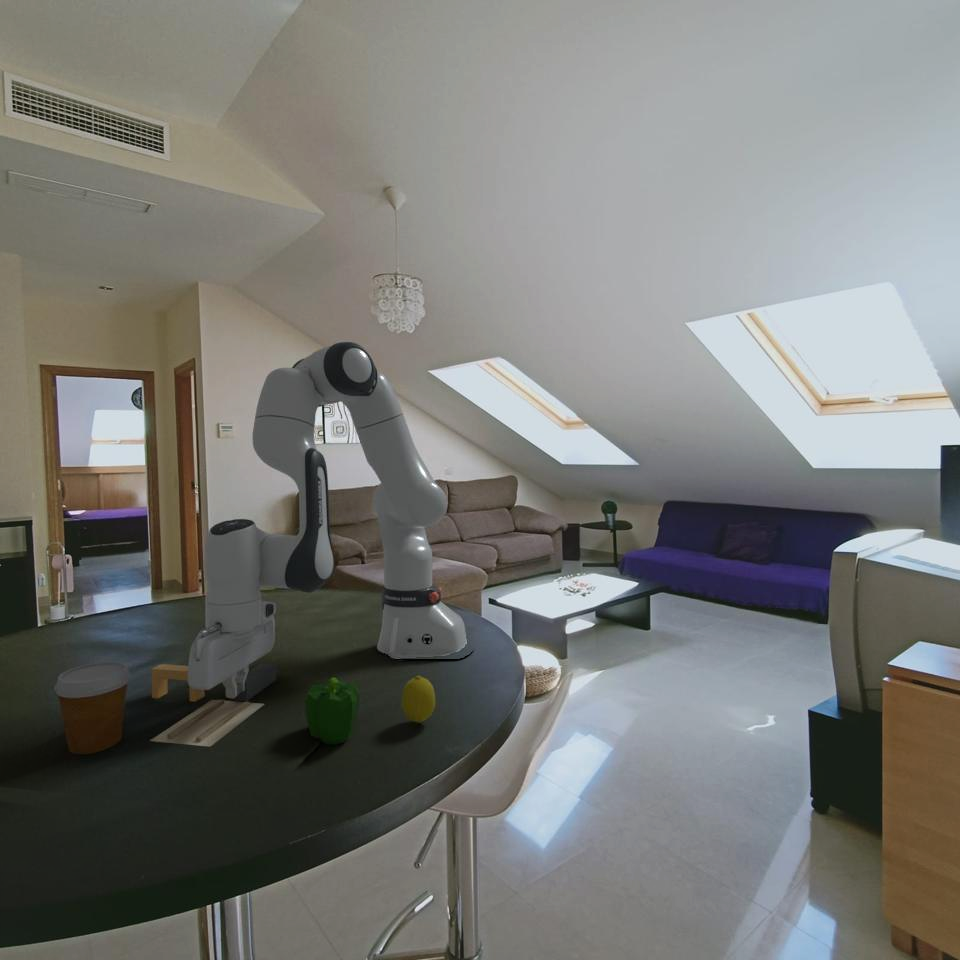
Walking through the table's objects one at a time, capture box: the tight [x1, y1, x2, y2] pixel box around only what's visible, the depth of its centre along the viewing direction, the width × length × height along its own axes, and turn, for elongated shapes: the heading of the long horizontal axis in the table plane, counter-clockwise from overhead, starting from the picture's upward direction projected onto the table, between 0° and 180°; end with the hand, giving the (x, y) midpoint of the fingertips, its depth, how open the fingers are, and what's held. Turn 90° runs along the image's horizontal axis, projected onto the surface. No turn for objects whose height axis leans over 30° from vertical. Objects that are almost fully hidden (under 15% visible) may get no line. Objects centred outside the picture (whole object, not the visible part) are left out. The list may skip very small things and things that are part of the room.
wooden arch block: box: [150, 663, 206, 702], centre depth 104 cm, size 9×2×6 cm, turn 80°
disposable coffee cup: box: [53, 661, 132, 755], centre depth 87 cm, size 10×10×12 cm
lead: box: [231, 662, 277, 702], centre depth 107 cm, size 3×10×4 cm, turn 170°
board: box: [149, 699, 265, 748], centre depth 94 cm, size 10×15×2 cm, turn 170°
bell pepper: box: [304, 677, 360, 746], centre depth 91 cm, size 8×8×10 cm
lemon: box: [400, 675, 436, 723], centre depth 96 cm, size 6×6×8 cm
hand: (235, 694), depth 101 cm, fingers closed
